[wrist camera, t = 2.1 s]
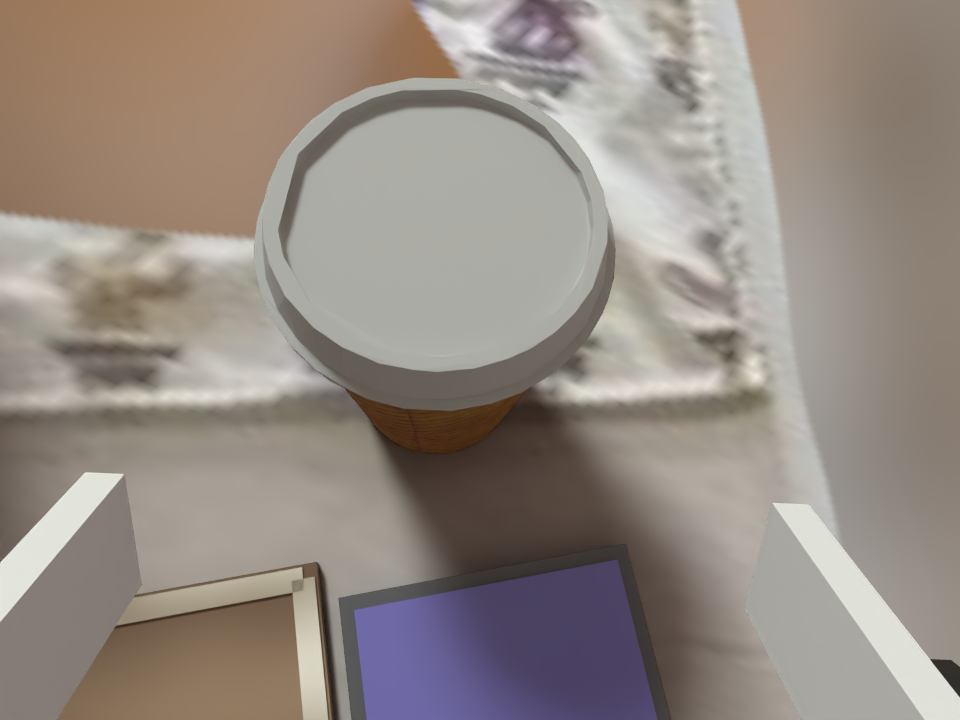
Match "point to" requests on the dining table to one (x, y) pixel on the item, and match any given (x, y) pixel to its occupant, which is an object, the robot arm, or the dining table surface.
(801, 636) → the robot arm
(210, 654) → the brown square tray
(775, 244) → the dining table surface
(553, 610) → the ink pad
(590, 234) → the disposable coffee cup
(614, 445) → the dining table surface
